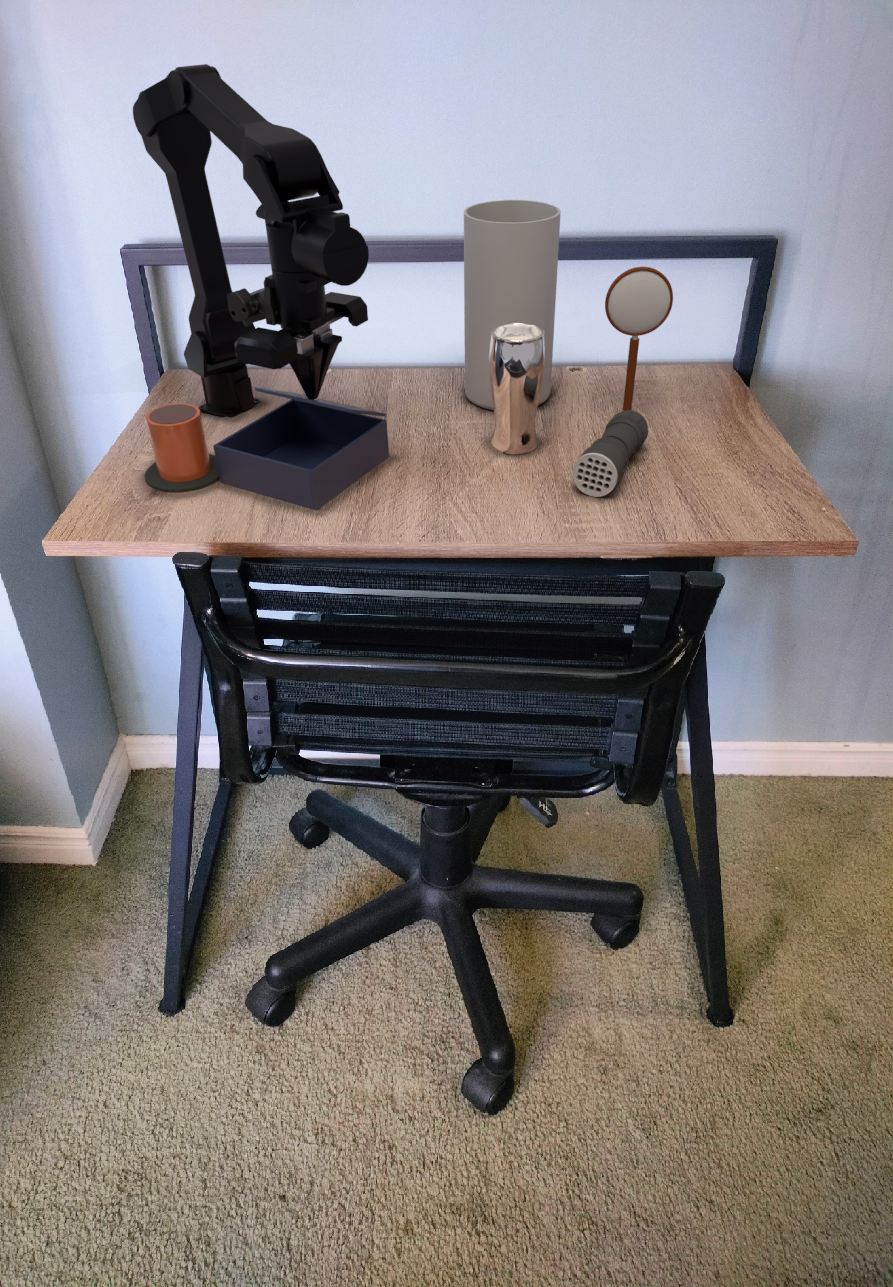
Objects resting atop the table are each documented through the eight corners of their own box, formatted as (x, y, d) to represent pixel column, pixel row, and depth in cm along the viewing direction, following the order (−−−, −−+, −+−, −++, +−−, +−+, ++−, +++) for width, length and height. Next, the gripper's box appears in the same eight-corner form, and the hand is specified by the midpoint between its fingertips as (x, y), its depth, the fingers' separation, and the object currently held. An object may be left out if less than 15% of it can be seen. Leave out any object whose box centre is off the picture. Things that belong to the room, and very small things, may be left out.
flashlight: (608, 440, 119) (612, 402, 115) (648, 448, 117) (653, 409, 114) (570, 491, 108) (573, 450, 105) (614, 500, 106) (618, 459, 103)
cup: (147, 475, 112) (133, 418, 107) (183, 454, 116) (171, 399, 112) (186, 486, 109) (174, 429, 105) (222, 465, 114) (211, 409, 109)
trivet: (128, 484, 112) (127, 478, 111) (184, 451, 119) (182, 446, 118) (189, 502, 108) (187, 496, 107) (242, 468, 115) (241, 462, 114)
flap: (291, 395, 118) (292, 392, 118) (385, 416, 112) (386, 413, 112) (254, 390, 111) (254, 387, 111) (351, 412, 105) (352, 409, 105)
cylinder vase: (447, 398, 131) (443, 213, 115) (500, 372, 138) (504, 195, 122) (515, 421, 124) (521, 228, 109) (567, 393, 131) (579, 208, 116)
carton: (297, 435, 122) (292, 398, 118) (389, 458, 116) (386, 419, 113) (220, 485, 111) (213, 445, 108) (317, 513, 105) (312, 471, 102)
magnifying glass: (595, 419, 124) (608, 269, 112) (594, 414, 125) (607, 265, 113) (658, 419, 124) (678, 268, 111) (656, 414, 125) (676, 264, 113)
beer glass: (537, 458, 115) (542, 342, 106) (484, 454, 116) (484, 339, 107) (543, 435, 120) (549, 323, 111) (492, 431, 122) (493, 320, 112)
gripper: (289, 238, 110) (305, 362, 120) (185, 279, 97) (211, 414, 107) (365, 248, 105) (374, 376, 115) (266, 293, 93) (286, 432, 102)
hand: (312, 398), depth 110 cm, fingers closed
